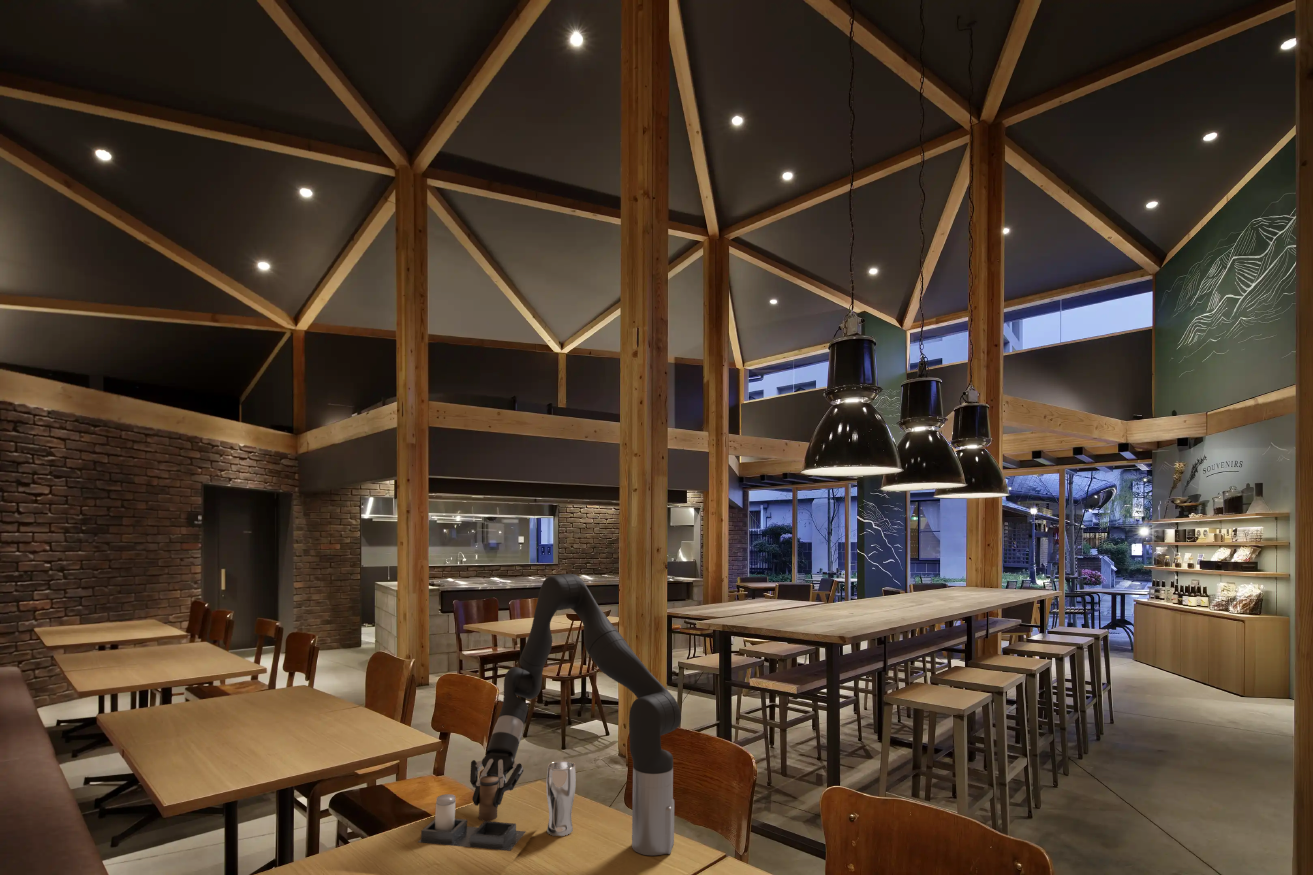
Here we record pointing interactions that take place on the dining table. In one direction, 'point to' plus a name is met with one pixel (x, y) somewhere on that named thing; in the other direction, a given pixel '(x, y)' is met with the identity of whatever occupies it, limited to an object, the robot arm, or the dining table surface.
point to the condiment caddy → (474, 835)
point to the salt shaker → (445, 813)
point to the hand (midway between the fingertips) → (485, 804)
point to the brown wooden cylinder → (488, 798)
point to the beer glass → (560, 797)
